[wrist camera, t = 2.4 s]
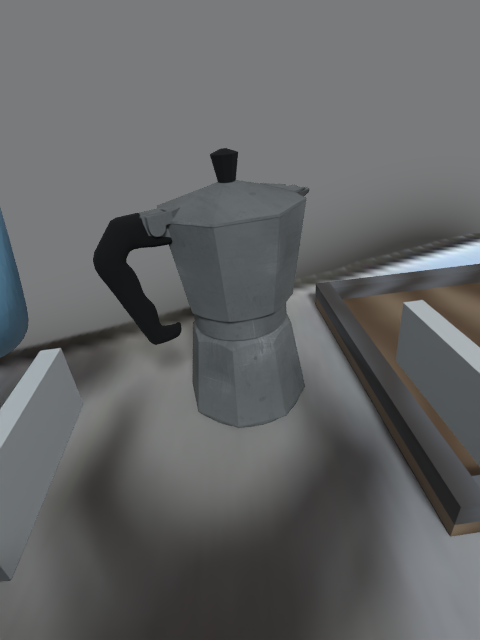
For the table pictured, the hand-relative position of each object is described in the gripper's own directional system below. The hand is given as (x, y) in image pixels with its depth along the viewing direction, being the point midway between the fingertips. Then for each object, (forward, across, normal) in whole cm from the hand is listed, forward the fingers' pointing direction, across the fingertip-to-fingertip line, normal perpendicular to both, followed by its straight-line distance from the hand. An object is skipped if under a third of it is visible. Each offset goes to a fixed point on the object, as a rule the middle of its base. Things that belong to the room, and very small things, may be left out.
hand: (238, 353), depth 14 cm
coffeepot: (+11, 0, -12) cm, 16 cm away
